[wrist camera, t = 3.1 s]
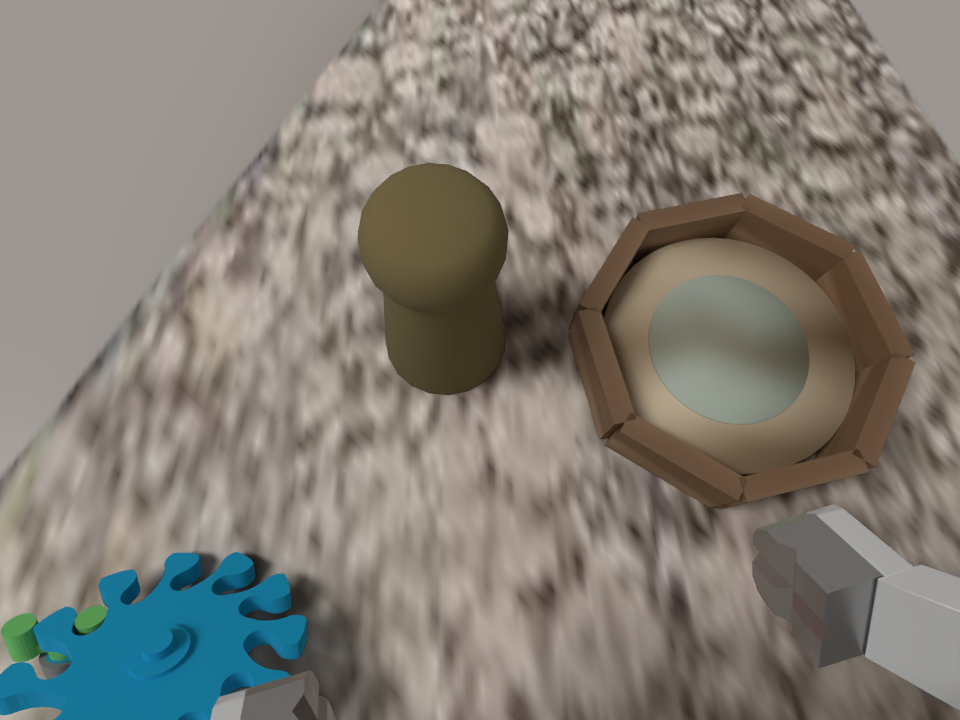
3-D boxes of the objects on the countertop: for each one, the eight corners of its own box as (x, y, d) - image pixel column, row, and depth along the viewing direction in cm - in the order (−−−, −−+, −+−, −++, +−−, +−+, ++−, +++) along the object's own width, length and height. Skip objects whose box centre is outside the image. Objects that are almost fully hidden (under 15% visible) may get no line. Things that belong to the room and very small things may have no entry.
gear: (352, 571, 23) (178, 854, 15) (355, 668, 26) (209, 960, 17) (123, 513, 26) (-148, 729, 17) (147, 607, 28) (-78, 839, 19)
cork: (386, 398, 28) (334, 300, 17) (384, 286, 30) (336, 138, 19) (511, 390, 28) (533, 289, 17) (501, 279, 30) (515, 129, 19)
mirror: (911, 460, 27) (963, 448, 24) (627, 531, 26) (647, 527, 23) (791, 211, 31) (822, 176, 29) (545, 261, 30) (552, 230, 27)
